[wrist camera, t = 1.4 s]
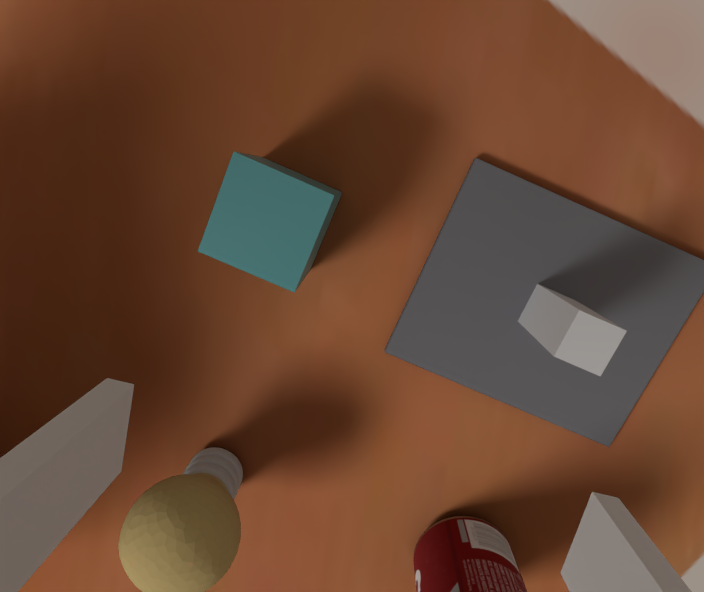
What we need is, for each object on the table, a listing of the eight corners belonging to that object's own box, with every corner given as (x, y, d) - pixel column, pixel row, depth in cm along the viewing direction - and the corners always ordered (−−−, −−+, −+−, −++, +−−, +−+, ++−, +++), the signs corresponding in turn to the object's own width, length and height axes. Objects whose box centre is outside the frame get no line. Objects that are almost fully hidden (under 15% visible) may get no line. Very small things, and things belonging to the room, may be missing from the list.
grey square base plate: (384, 349, 33) (387, 393, 26) (474, 158, 30) (504, 151, 23) (605, 443, 34) (664, 509, 27) (713, 265, 31) (809, 289, 24)
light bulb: (154, 453, 35) (71, 557, 26) (228, 408, 34) (171, 498, 25) (209, 522, 36) (149, 648, 27) (282, 480, 35) (248, 595, 26)
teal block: (233, 236, 32) (197, 251, 25) (262, 157, 31) (233, 151, 24) (310, 270, 32) (294, 292, 26) (342, 192, 31) (334, 195, 24)
